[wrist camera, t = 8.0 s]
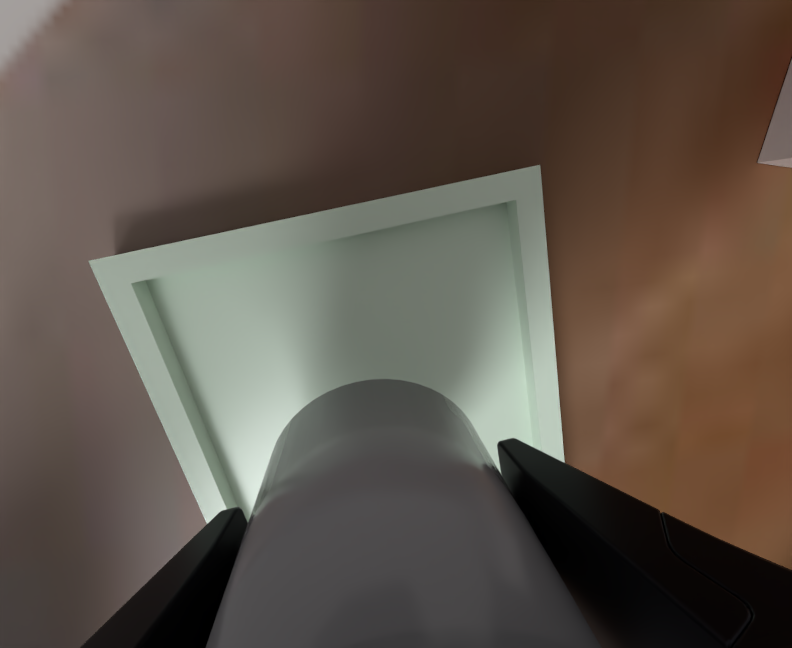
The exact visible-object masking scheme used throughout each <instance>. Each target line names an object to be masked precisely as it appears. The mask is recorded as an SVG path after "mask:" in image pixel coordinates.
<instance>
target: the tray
mask: <svg viewBox="0 0 792 648" xmlns="http://www.w3.org/2000/svg"><path fill="white" fill-rule="evenodd" d="M89 264H90V266H91V268H92V270H93V272H94V275H95V277H96V279H97V281H98V283H99V286H100V288H101V290H102V292H103V295H104V297H105V299H106V301H107V303H108V306H109V308H110V310H111V312H112V314H113V317H114V319H115V321H116V323H117V326H118V328H119V330H120V332H121V334H122V337H123V339H124V341H125V343H126V346H127V348H128V350H129V352H130V354H131V357H132V359H133V361H134V363H135V365H136V368H137V370H138V372H139V374H140V377H141V379H142V381H143V383H144V385H145V388H146V390H147V392H148V394H149V396H150V399H151V401H152V403H153V405H154V408H155V410H156V412H157V414H158V416H159V419H160V421H161V423H162V425H163V428H164V430H165V432H166V434H167V436H168V439H169V441H170V443H171V445H172V447H173V450H174V452H175V454H176V456H177V459H178V461H179V463H180V465H181V467H182V470H183V472H184V474H185V476H186V478H187V481H188V483H189V485H190V487H191V490H192V492H193V494H194V496H195V498H196V501H197V503H198V505H199V507H200V510H201V512H202V514H203V516H204V518H205V521H206V523H207V524H208V523H209V522H210V521H211V520H212V519H213V518H214V517H215V516H216V515H217V514H218V513H219V512H220V511H222V510H226V509H230V508H234V507H240V508H241V509H242V510H243V512H244V515H245V517H246V520H247V522H248V521H249V519H250V516H251V513H252V510H253V507H254V504H255V501H256V498H257V495H258V492H259V489H260V486H261V483H262V480H263V478H264V475H265V472H266V469H267V466H268V463H269V460H270V457H271V454H272V451H273V449H274V446H275V444H276V441H277V440H278V438H279V436H280V434H281V433H282V431H283V429H284V428H285V427H286V425H287V424H288V423H289V422H290V420H291V419H292V418H293V417H294V416H295V415H296V414H297V413H298V412H299V411H300V410H301V409H302V408H303V407H305V406H306V405H307V404H309V403H310V402H311V401H313V400H314V399H316V398H318V397H319V396H321V395H323V394H325V393H326V392H328V391H331V390H333V389H336V388H338V387H340V386H343V385H347V384H350V383H354V382H358V381H365V380H371V379H394V380H403V381H408V382H413V383H417V384H420V385H423V386H425V387H428V388H431V389H433V390H435V391H437V392H438V393H440V394H442V395H444V396H445V397H447V398H448V399H449V400H451V401H452V402H453V403H455V404H456V405H457V406H458V407H459V408H460V409H461V410H462V411H463V412H464V414H465V415H466V416H467V417H468V419H469V420H470V422H471V423H472V425H473V427H474V428H475V430H476V432H477V434H478V435H479V437H480V439H481V440H482V442H483V444H484V446H485V447H486V449H487V451H488V453H489V454H490V456H491V458H492V459H493V461H494V463H495V465H496V466H497V468H498V470H499V471H500V473H501V470H500V463H499V456H498V449H497V444H498V442H499V441H502V440H506V439H510V438H516V439H518V440H520V441H522V442H524V443H526V444H528V445H530V446H532V447H534V448H536V449H538V450H540V451H542V452H544V453H546V454H548V455H550V456H552V457H554V458H556V459H558V460H560V461H562V462H564V450H563V438H562V425H561V413H560V401H559V389H558V376H557V364H556V352H555V340H554V328H553V315H552V303H551V291H550V279H549V266H548V254H547V242H546V230H545V217H544V205H543V193H542V181H541V168H540V165H536V166H532V167H527V168H522V169H518V170H513V171H508V172H504V173H499V174H494V175H489V176H485V177H480V178H475V179H471V180H466V181H461V182H457V183H452V184H447V185H442V186H438V187H433V188H428V189H424V190H419V191H414V192H410V193H405V194H400V195H396V196H391V197H386V198H381V199H377V200H372V201H367V202H363V203H358V204H353V205H349V206H344V207H339V208H334V209H330V210H325V211H320V212H316V213H311V214H306V215H302V216H297V217H292V218H287V219H283V220H278V221H273V222H269V223H264V224H259V225H255V226H250V227H245V228H240V229H236V230H231V231H226V232H222V233H217V234H212V235H208V236H203V237H198V238H193V239H189V240H184V241H179V242H175V243H170V244H165V245H161V246H156V247H151V248H146V249H142V250H137V251H132V252H128V253H123V254H118V255H114V256H109V257H104V258H99V259H95V260H90V261H89ZM564 463H565V462H564ZM501 475H502V474H501Z"/></svg>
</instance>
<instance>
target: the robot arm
mask: <svg viewBox="0 0 792 648" xmlns="http://www.w3.org/2000/svg"><path fill="white" fill-rule="evenodd" d="M497 449H498V456H499V463H500V470H501V474H502V477H503V478H504V480H505V482H506V484H507V485H508V487H509V489H510V490H511V492H512V494H513V496H514V497H515V499H516V501H517V503H518V504H519V506H520V508H521V509H522V511H523V513H524V515H525V516H526V518H527V520H528V521H529V523H530V525H531V527H532V528H533V530H534V532H535V534H536V535H537V537H538V539H539V540H540V542H541V544H542V546H543V547H544V549H545V551H546V552H547V554H548V556H549V558H550V559H551V561H552V563H553V565H554V566H555V568H556V570H557V571H558V573H559V575H560V577H561V578H562V580H563V582H564V583H565V585H566V587H567V589H568V590H569V592H570V594H571V596H572V597H573V599H574V601H575V602H576V604H577V606H578V608H579V609H580V611H581V613H582V614H583V616H584V618H585V620H586V621H587V623H588V625H589V627H590V628H591V630H592V632H593V633H594V635H595V637H596V639H597V640H598V642H599V644H600V645H601V647H602V648H792V570H790V569H788V568H785V567H783V566H780V565H778V564H776V563H773V562H771V561H769V560H766V559H764V558H762V557H759V556H757V555H755V554H752V553H750V552H748V551H746V550H743V549H741V548H739V547H736V546H734V545H732V544H730V543H727V542H725V541H723V540H720V539H718V538H716V537H714V536H712V535H710V534H708V533H706V532H704V531H701V530H699V529H697V528H695V527H693V526H691V525H689V524H687V523H685V522H683V521H681V520H679V519H677V518H675V517H673V516H671V515H669V514H667V513H665V512H662V513H660V511H659V510H658V509H656V508H654V507H652V506H650V505H648V504H646V503H644V502H642V501H640V500H638V499H636V498H634V497H632V496H630V495H628V494H626V493H624V492H622V491H620V490H618V489H616V488H614V487H612V486H610V485H608V484H606V483H604V482H602V481H600V480H598V479H596V478H594V477H592V476H590V475H588V474H586V473H584V472H582V471H580V470H578V469H576V468H574V467H572V466H570V465H568V464H566V463H564V462H562V461H560V460H558V459H556V458H554V457H552V456H550V455H548V454H546V453H544V452H542V451H540V450H538V449H536V448H534V447H532V446H530V445H528V444H526V443H524V442H522V441H520V440H518V439H516V438H510V439H506V440H502V441H499V442H498V444H497ZM247 524H248V522H247V520H246V517H245V515H244V512H243V510H242V509H241V508H240V507H234V508H230V509H226V510H222V511H220V512H219V513H218V514H217V515H216V516H215V517H214V518H213V519H212V520H211V521H210V522H209V523H208V524H207V525H206V526H205V527H204V528H203V529H202V530H201V531H200V532H199V533H198V534H197V535H195V536H194V537H193V538H192V539H191V540H190V541H189V542H188V543H187V544H186V545H185V546H184V547H183V548H182V549H181V550H180V551H179V552H178V553H177V554H176V555H175V556H174V557H173V558H172V559H171V560H170V561H169V562H168V563H167V564H166V565H165V566H164V567H163V568H162V569H161V570H159V571H158V572H157V573H156V574H155V575H154V576H153V577H152V578H151V579H150V580H149V581H148V582H147V583H146V584H145V585H144V586H143V587H142V588H141V589H140V590H139V591H138V592H137V593H136V594H135V595H134V596H133V597H132V598H131V599H130V600H129V601H128V602H127V603H126V604H124V605H123V606H122V607H121V608H120V609H119V610H118V611H117V612H116V613H115V614H114V615H113V616H112V617H111V618H110V619H109V620H108V621H107V622H106V623H105V624H104V625H103V626H102V627H101V628H100V629H99V630H98V631H97V632H96V633H95V634H94V635H93V636H92V637H91V638H90V639H88V640H87V641H86V642H85V643H84V644H83V645H82V646H81V647H80V648H205V647H206V644H207V642H208V639H209V636H210V633H211V630H212V627H213V624H214V621H215V618H216V615H217V612H218V609H219V606H220V603H221V601H222V598H223V595H224V592H225V589H226V586H227V583H228V580H229V577H230V574H231V571H232V568H233V565H234V562H235V560H236V557H237V554H238V551H239V548H240V545H241V542H242V539H243V536H244V533H245V530H246V527H247Z"/></svg>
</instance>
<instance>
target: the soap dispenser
mask: <svg viewBox="0 0 792 648" xmlns="http://www.w3.org/2000/svg"><path fill="white" fill-rule="evenodd" d="M757 163H762V164H769V165H777V166H784V167H791V168H792V60H791V63H790V66H789V69H788V72H787V75H786V78H785V81H784V84H783V87H782V90H781V93H780V96H779V99H778V102H777V105H776V108H775V111H774V114H773V117H772V120H771V123H770V126H769V129H768V132H767V135H766V138H765V141H764V144H763V147H762V150H761V153H760V156H759V159H758V162H757Z"/></svg>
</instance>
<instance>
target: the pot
mask: <svg viewBox="0 0 792 648" xmlns="http://www.w3.org/2000/svg"><path fill="white" fill-rule="evenodd" d="M205 648H602V647H601V645H600V644H599V642H598V640H597V639H596V637H595V635H594V633H593V632H592V630H591V628H590V627H589V625H588V623H587V621H586V620H585V618H584V616H583V614H582V613H581V611H580V609H579V608H578V606H577V604H576V602H575V601H574V599H573V597H572V596H571V594H570V592H569V590H568V589H567V587H566V585H565V583H564V582H563V580H562V578H561V577H560V575H559V573H558V571H557V570H556V568H555V566H554V565H553V563H552V561H551V559H550V558H549V556H548V554H547V552H546V551H545V549H544V547H543V546H542V544H541V542H540V540H539V539H538V537H537V535H536V534H535V532H534V530H533V528H532V527H531V525H530V523H529V521H528V520H527V518H526V516H525V515H524V513H523V511H522V509H521V508H520V506H519V504H518V503H517V501H516V499H515V497H514V496H513V494H512V492H511V490H510V489H509V487H508V485H507V484H506V482H505V480H504V478H503V477H502V475H501V473H500V471H499V470H498V468H497V466H496V465H495V463H494V461H493V459H492V458H491V456H490V454H489V453H488V451H487V449H486V447H485V446H484V444H483V442H482V440H481V439H480V437H479V435H478V434H477V432H476V430H475V428H474V427H473V425H472V423H471V422H470V420H469V419H468V417H467V416H466V415H465V414H464V412H463V411H462V410H461V409H460V408H459V407H458V406H457V405H456V404H455V403H453V402H452V401H451V400H449V399H448V398H447V397H445V396H444V395H442V394H440V393H438V392H437V391H435V390H433V389H431V388H428V387H425V386H423V385H420V384H417V383H413V382H408V381H403V380H394V379H371V380H365V381H358V382H354V383H350V384H347V385H343V386H340V387H338V388H336V389H333V390H331V391H328V392H326V393H325V394H323V395H321V396H319V397H318V398H316V399H314V400H313V401H311V402H310V403H309V404H307V405H306V406H305V407H303V408H302V409H301V410H300V411H299V412H298V413H297V414H296V415H295V416H294V417H293V418H292V419H291V420H290V422H289V423H288V424H287V425H286V427H285V428H284V429H283V431H282V433H281V434H280V436H279V438H278V440H277V441H276V444H275V446H274V449H273V451H272V454H271V457H270V460H269V463H268V466H267V469H266V472H265V475H264V478H263V480H262V483H261V486H260V489H259V492H258V495H257V498H256V501H255V504H254V507H253V510H252V513H251V516H250V519H249V521H248V524H247V527H246V530H245V533H244V536H243V539H242V542H241V545H240V548H239V551H238V554H237V557H236V560H235V562H234V565H233V568H232V571H231V574H230V577H229V580H228V583H227V586H226V589H225V592H224V595H223V598H222V601H221V603H220V606H219V609H218V612H217V615H216V618H215V621H214V624H213V627H212V630H211V633H210V636H209V639H208V642H207V644H206V647H205Z"/></svg>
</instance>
